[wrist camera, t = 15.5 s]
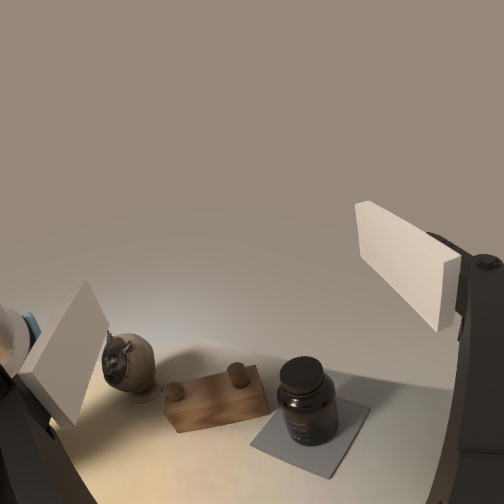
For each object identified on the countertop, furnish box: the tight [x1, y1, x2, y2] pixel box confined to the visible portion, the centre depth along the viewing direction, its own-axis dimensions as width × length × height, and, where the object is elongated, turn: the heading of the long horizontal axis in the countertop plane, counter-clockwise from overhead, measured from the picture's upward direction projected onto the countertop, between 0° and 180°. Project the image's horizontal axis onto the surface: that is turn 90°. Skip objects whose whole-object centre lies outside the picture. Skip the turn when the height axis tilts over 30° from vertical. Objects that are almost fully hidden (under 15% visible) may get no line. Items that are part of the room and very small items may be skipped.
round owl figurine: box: [102, 331, 164, 403], centre depth 50 cm, size 10×12×10 cm
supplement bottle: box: [277, 356, 339, 447], centre depth 35 cm, size 7×7×12 cm
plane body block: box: [165, 362, 269, 433], centre depth 43 cm, size 14×6×8 cm, turn 98°
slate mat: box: [250, 398, 370, 479], centre depth 38 cm, size 12×12×1 cm
